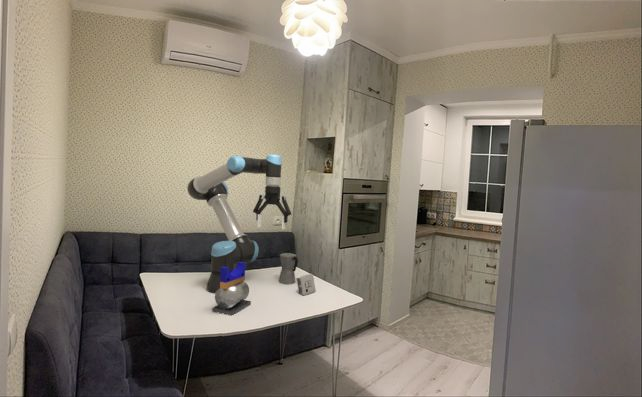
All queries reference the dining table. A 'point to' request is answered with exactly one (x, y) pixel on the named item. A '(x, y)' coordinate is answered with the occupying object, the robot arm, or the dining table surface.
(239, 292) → the silver rounded piece
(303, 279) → the electrical switch
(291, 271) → the coffeepot
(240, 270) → the blue notched block
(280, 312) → the dining table surface
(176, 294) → the dining table surface
